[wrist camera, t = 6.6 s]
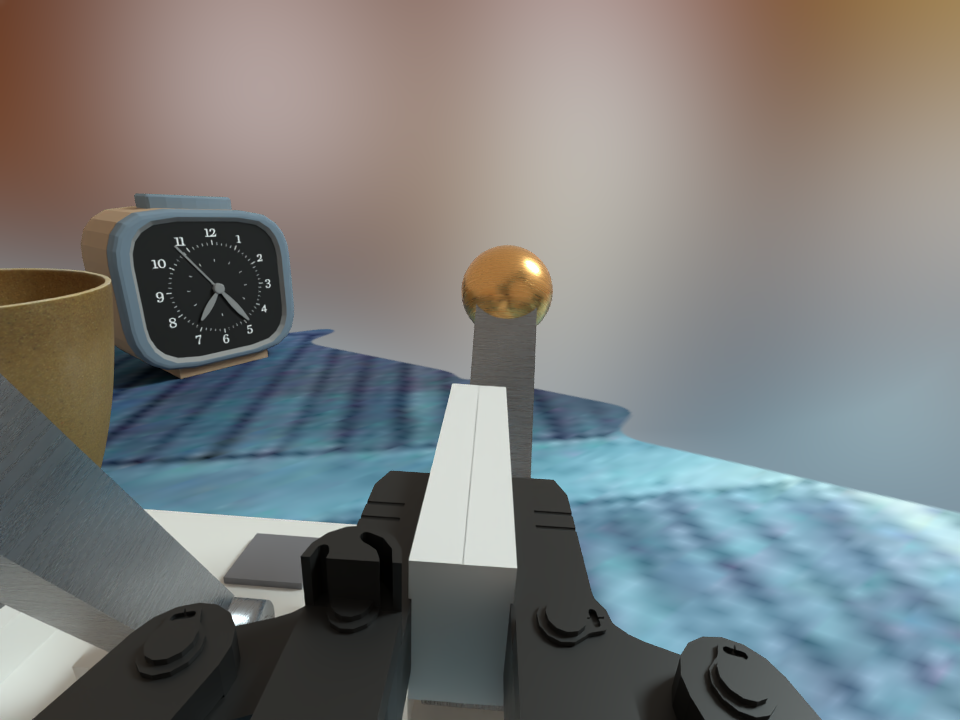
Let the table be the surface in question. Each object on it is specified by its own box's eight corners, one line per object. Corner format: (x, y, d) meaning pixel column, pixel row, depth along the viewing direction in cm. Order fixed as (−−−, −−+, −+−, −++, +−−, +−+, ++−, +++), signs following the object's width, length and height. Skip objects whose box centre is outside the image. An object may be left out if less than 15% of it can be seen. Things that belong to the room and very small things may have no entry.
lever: (537, 684, 14) (550, 272, 18) (551, 744, 11) (563, 229, 14) (431, 675, 14) (464, 268, 18) (415, 732, 11) (459, 224, 15)
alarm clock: (142, 391, 51) (97, 192, 44) (110, 372, 56) (65, 190, 49) (300, 351, 67) (286, 200, 60) (264, 338, 72) (247, 198, 65)
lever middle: (287, 596, 15) (-65, 167, 5) (244, 716, 13) (-545, 361, 3) (189, 588, 15) (-340, 155, 5) (129, 706, 13) (-1022, 329, 3)
